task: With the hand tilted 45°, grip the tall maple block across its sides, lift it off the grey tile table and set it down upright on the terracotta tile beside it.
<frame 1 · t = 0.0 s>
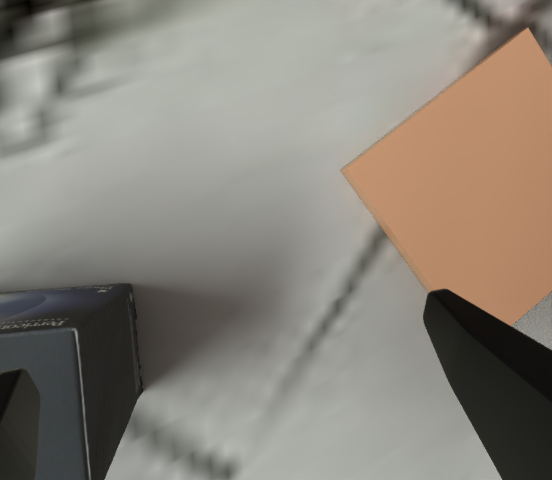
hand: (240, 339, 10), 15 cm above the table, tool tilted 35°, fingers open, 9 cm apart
terracotta tile: (490, 193, 27), on the table
small box: (35, 344, 24), on the table
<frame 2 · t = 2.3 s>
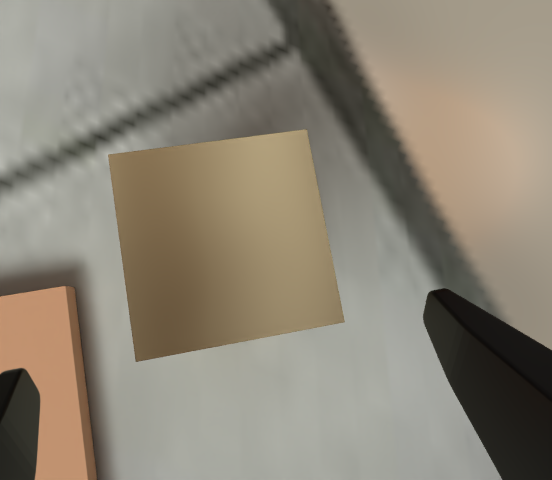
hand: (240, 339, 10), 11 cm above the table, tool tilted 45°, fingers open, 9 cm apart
maple block: (224, 273, 21), on the table
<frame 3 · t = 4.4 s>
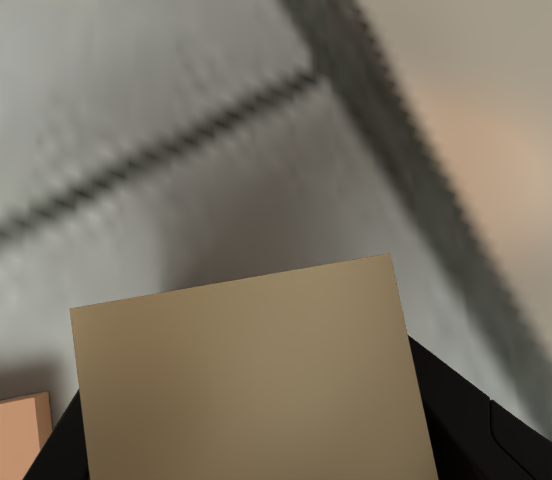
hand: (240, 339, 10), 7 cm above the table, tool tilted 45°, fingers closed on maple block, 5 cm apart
maple block: (239, 367, 17), on the table, touching gripper
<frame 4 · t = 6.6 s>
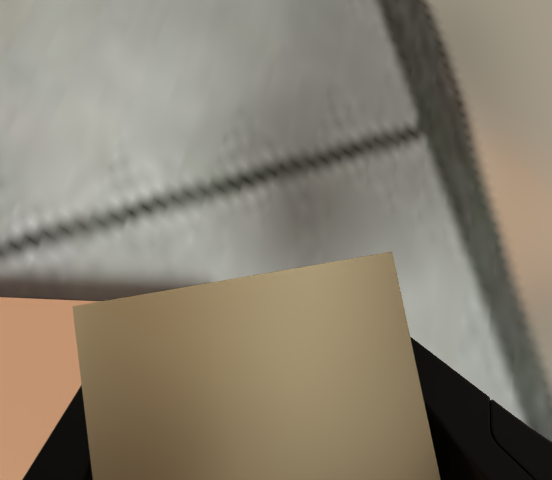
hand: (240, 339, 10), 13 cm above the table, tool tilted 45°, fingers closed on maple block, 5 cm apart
maple block: (240, 366, 17), point 7 cm above the table, touching gripper
terracotta tile: (52, 440, 22), on the table
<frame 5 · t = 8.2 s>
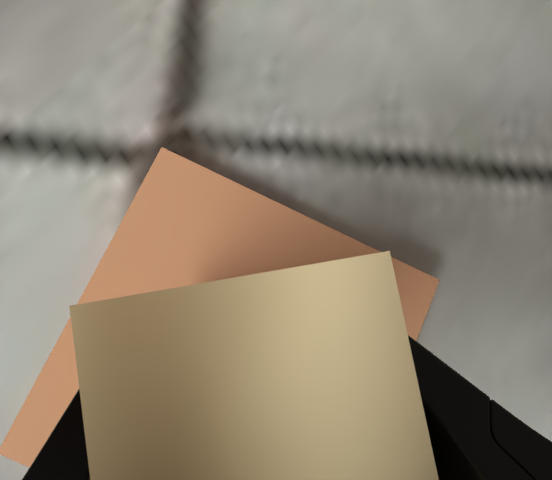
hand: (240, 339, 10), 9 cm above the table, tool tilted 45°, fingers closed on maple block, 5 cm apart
maple block: (239, 366, 17), point 3 cm above the table, touching gripper
terracotta tile: (235, 356, 19), on the table
when the fingers open (9 cm above the table, at t = 9.2 s): maple block stays where it is, resting on terracotta tile.
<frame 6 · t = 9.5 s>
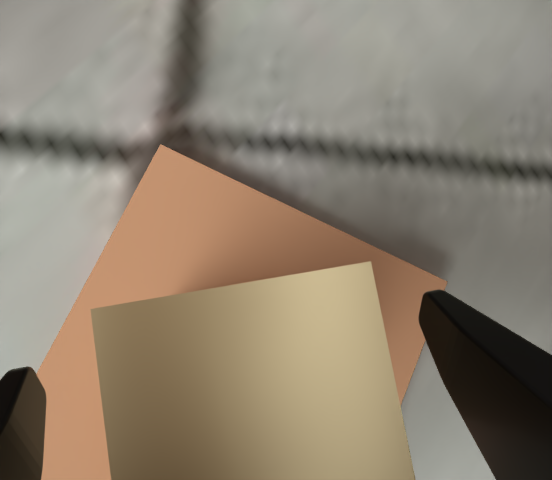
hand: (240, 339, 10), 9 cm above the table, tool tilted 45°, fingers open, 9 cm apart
maple block: (238, 364, 18), point 1 cm above the table, touching terracotta tile
terracotta tile: (236, 360, 19), on the table
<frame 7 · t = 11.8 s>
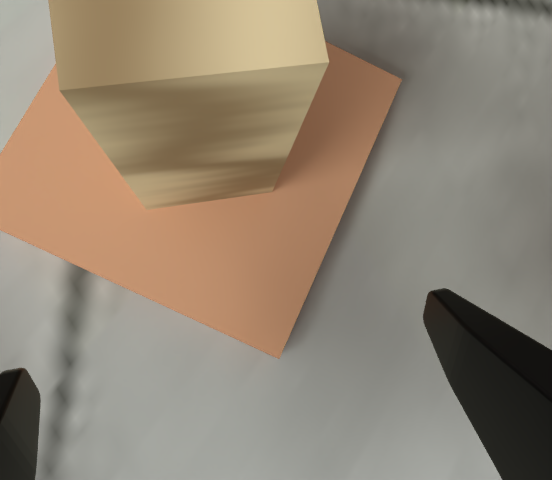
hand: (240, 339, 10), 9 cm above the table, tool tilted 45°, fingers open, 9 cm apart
maple block: (201, 141, 19), point 1 cm above the table, touching terracotta tile
terracotta tile: (201, 151, 20), on the table
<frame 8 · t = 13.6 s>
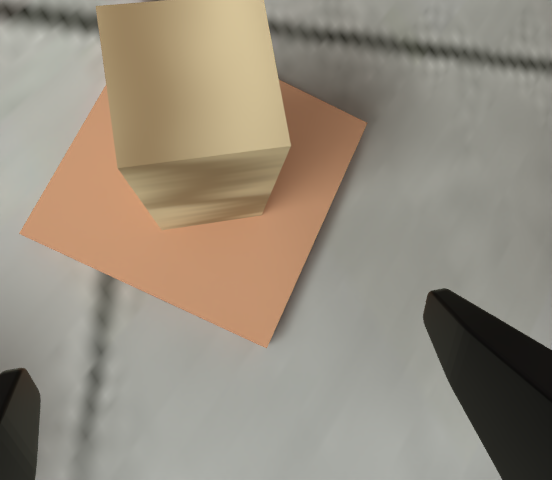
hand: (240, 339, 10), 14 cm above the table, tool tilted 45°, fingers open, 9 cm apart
maple block: (204, 174, 24), point 1 cm above the table, touching terracotta tile
terracotta tile: (205, 181, 25), on the table
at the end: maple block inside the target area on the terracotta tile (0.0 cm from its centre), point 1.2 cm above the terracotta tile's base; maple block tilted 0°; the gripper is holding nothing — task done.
